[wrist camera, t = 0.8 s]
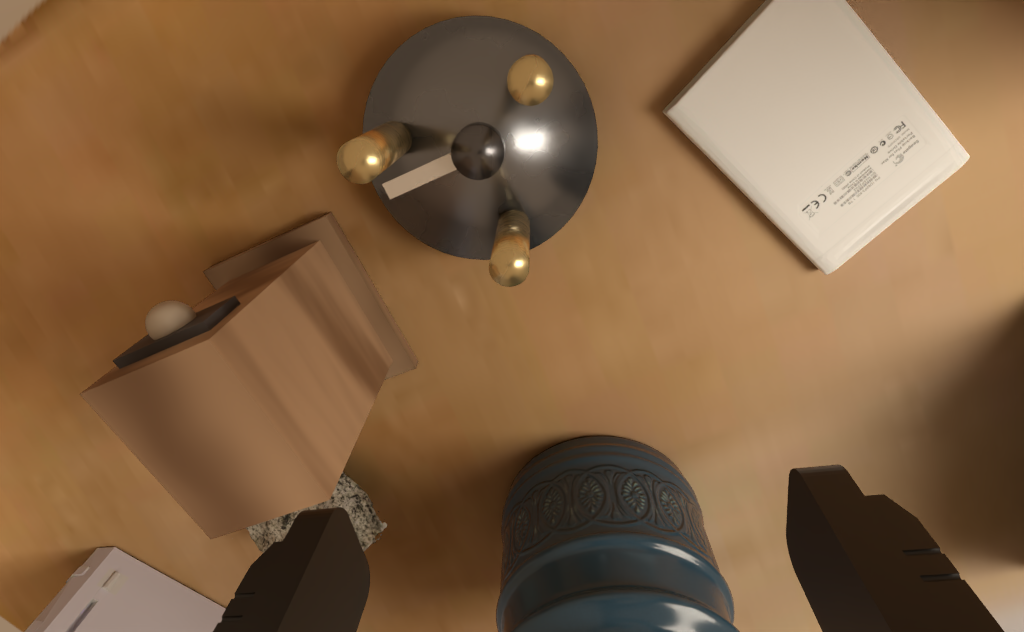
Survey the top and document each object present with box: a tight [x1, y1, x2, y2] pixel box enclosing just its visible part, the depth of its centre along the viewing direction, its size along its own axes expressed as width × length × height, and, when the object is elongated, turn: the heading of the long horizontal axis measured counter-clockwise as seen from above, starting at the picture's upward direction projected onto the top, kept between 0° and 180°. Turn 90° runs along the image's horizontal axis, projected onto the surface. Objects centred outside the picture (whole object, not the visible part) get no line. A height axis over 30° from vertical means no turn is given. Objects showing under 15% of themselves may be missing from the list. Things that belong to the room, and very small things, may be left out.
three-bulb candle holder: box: [337, 16, 598, 287], centre depth 24 cm, size 11×11×8 cm
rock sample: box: [246, 472, 387, 553], centre depth 36 cm, size 10×8×9 cm
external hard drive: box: [663, 0, 970, 275], centre depth 27 cm, size 2×8×12 cm
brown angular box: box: [80, 212, 418, 539], centre depth 27 cm, size 8×10×12 cm
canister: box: [496, 436, 740, 632], centre depth 30 cm, size 13×13×18 cm
